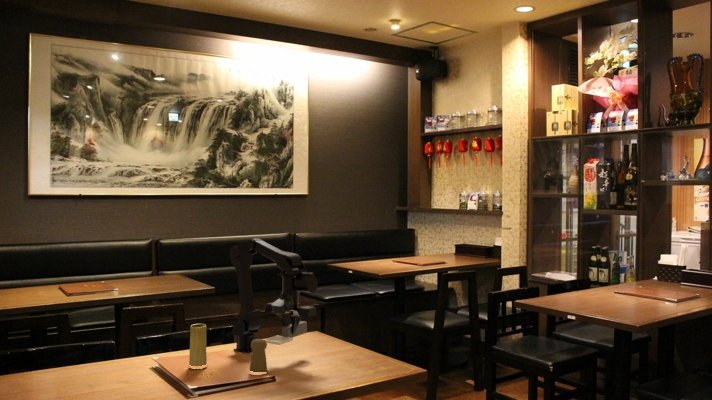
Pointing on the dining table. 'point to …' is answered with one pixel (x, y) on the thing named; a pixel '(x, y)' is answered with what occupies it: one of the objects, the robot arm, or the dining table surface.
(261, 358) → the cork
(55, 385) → the dining table surface
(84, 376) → the dining table surface
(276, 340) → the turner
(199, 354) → the vase
